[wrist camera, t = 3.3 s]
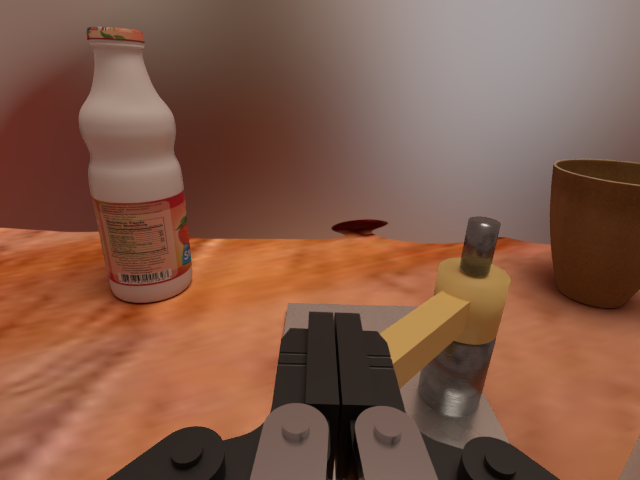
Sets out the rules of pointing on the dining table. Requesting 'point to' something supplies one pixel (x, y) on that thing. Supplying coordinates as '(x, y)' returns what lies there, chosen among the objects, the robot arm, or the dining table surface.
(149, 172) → the fruit juice
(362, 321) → the square base plate stand
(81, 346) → the dining table surface
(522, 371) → the dining table surface
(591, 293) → the plant pot
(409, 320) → the lever handle
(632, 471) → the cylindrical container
